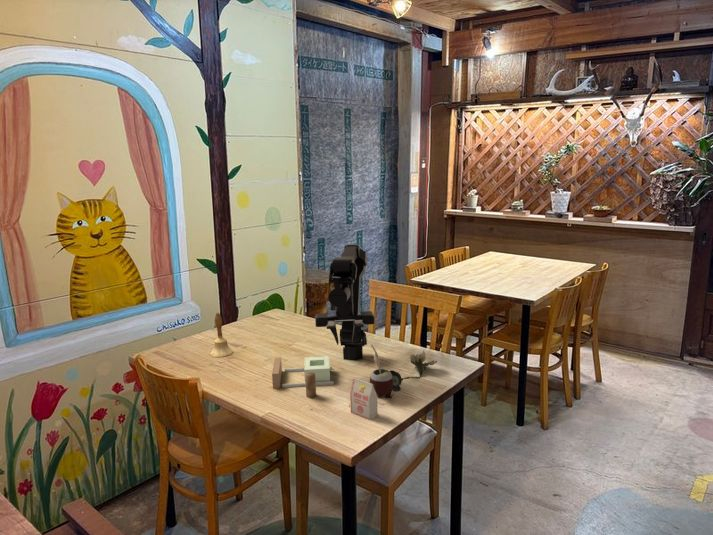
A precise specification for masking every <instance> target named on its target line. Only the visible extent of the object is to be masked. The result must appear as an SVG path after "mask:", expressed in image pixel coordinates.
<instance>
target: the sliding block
mask: <svg viewBox="0 0 713 535" xmlns="http://www.w3.org/2000/svg"><path fill="white" fill-rule="evenodd" d="M330 366H331V364H330V357H329V356H327V355H326V356H312V357H311V356H310V357H304V367H303V368H304V371H303V372H304V375H305V374H306V373H309V372H313V373H315V379H316V382H325V381H331V370H330ZM304 383H306V380H305V379H304Z"/></svg>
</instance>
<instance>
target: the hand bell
mask: <svg viewBox="0 0 713 535" xmlns="http://www.w3.org/2000/svg"><path fill="white" fill-rule="evenodd" d="M220 314H221V313H220V312H215V315H214V324H215V328H216V330H217V338H216V339H215V340H214V344H213V345H214V346H213V349H212V350H211V351H210V356H211V357H212V356H213V358H225V357H228V356H231V355H232V354H233V353H234V351H233V349H232V348H231V347H230V346H229V344H228V340H227V338H226V337H224V336H223V331H222V327H223V319H222V316H221V315H220Z"/></svg>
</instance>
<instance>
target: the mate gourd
mask: <svg viewBox="0 0 713 535" xmlns="http://www.w3.org/2000/svg"><path fill="white" fill-rule="evenodd" d="M370 346H371V348H372V350H373V352H374V355H375V359H376V362H377V367H378V368H377V369H375V370H373V371H372V373H371V374H370V377H369V383H371V384H373V386H374V389H375V392H376V394H377V399H380V398H382V397H384V399H388V400H389V399H392V398H393V396H392V393H393V377H392V374H391V372H390V370H388V369H384V368H381V365H380V360H379V353H378V352H377V350H376V348H375V347H374V346H373V344H370Z"/></svg>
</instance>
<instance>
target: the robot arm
mask: <svg viewBox="0 0 713 535" xmlns="http://www.w3.org/2000/svg"><path fill="white" fill-rule="evenodd" d="M367 266H368V255H367V252H366V251H365V250H364V249H362V248H360V245H359V244H345V245H344V248H343V251H342V253H341V255H340V256H338V257H335V258H334V259H332V262H330V266H329V274H328V284H333V286H332V287H333V288H332V289H331V290H330V292H329V293H328V297H327V298H328V302H329V304H330V305H329V306H330V311H334V315H333V316H328V313H327V312H326V313H324V312H323V313H316V314H315V315H314V316H315V318H314V320H315V327H316V328H323V327H324V328H325V327H326V329H327V330H330V332H331V334H332V335H333V337H334V340H335V342H336V345H337V346H339V343H340V346H341V347H342V346H343V347H342V356H343V357H342V358H343V360H345V361H350V362H351V361H360V360H363V359H364V356H363V355H364V354H363V353H364V352H363V347H365V346H366V345H367V344H368V340H367V339H368V338H367V337H368V336H367V334H366V331H365V329H364V327H365V325H366V326H367V325H375V315H374V312H373V311H371V310H367V311H364V310H363V311H360V304H361V303H360V302H361V301H360V300H361V281H362V280H361V278H362V277H363V276H364V274H365V272H366V267H367ZM336 323H341V328H340V330H339V336H338V331H337V326H336Z"/></svg>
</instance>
